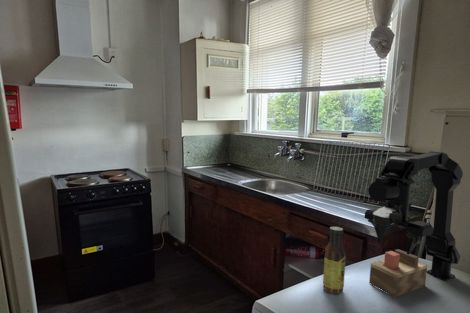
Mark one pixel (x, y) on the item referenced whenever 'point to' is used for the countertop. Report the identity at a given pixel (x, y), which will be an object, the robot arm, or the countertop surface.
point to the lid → (401, 265)
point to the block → (391, 260)
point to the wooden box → (397, 281)
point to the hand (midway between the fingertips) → (393, 248)
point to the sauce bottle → (334, 262)
